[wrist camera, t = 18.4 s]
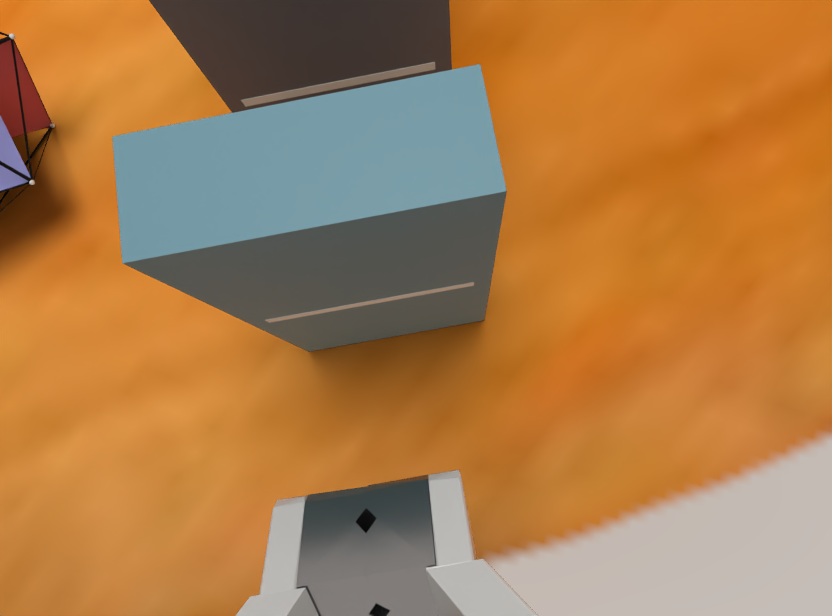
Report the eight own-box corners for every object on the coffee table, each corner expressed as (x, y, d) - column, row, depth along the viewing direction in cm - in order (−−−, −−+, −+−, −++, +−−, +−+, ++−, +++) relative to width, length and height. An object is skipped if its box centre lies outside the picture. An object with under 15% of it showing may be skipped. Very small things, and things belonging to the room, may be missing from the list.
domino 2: (484, 320, 20) (506, 192, 9) (308, 352, 20) (122, 265, 9) (472, 258, 20) (480, 63, 9) (300, 289, 20) (112, 135, 10)
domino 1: (455, 157, 21) (443, -136, 10) (288, 189, 21) (101, -63, 10) (444, 101, 21) (422, -239, 10) (281, 132, 21) (93, -167, 11)
